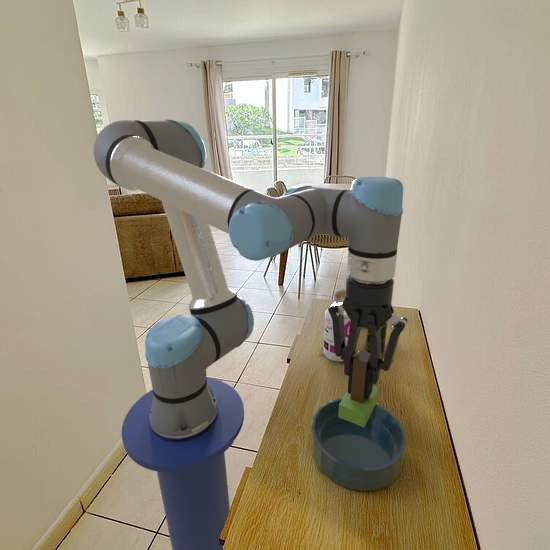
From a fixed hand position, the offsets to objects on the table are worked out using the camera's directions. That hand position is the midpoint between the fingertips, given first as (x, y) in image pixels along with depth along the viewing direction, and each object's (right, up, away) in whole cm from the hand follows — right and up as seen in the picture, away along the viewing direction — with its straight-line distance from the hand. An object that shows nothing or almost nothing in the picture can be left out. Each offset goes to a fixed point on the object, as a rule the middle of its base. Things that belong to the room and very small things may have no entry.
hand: (359, 391), depth 67 cm
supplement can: (+2, -2, +38) cm, 38 cm away
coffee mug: (+8, +5, +54) cm, 55 cm away
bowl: (+1, -15, +7) cm, 16 cm away
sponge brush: (0, -4, +2) cm, 4 cm away
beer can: (+14, -1, +39) cm, 42 cm away
